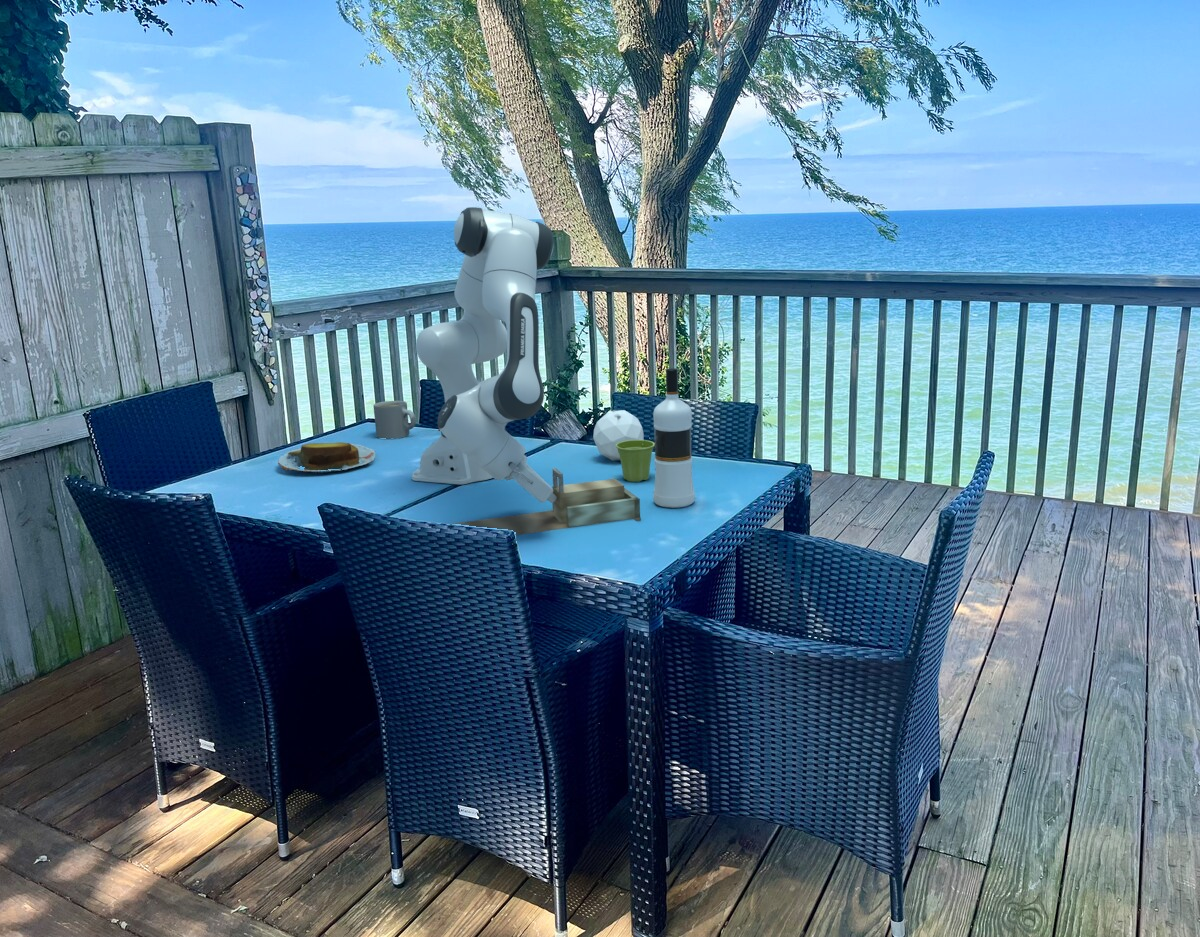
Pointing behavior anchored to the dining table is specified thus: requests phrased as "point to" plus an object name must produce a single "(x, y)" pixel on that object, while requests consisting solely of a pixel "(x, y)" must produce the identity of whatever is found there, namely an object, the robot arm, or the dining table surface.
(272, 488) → the dining table surface
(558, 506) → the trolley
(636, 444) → the plant pot
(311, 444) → the food on plate
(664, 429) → the vodka
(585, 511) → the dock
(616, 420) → the geodesic sphere
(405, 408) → the coffee mug
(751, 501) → the dining table surface
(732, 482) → the dining table surface
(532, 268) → the robot arm
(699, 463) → the dining table surface
